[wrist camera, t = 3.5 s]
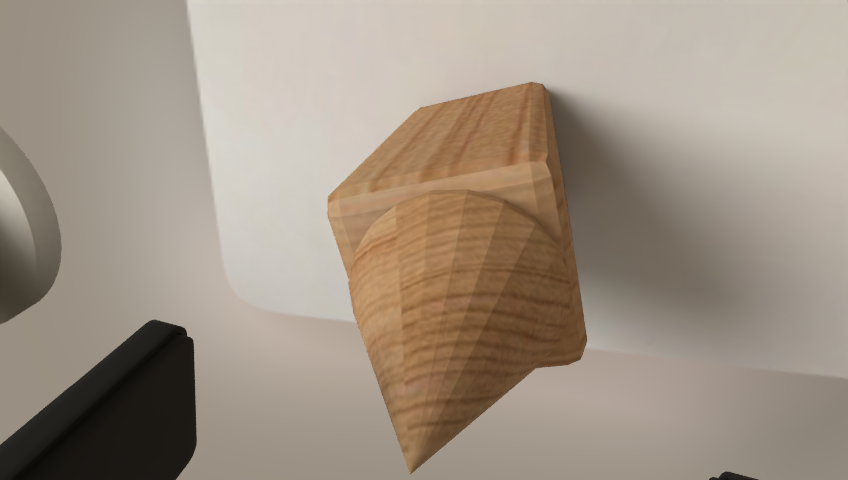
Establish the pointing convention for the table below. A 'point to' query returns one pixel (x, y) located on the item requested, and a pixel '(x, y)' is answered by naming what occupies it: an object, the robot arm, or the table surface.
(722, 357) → the table surface
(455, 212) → the decorative item
